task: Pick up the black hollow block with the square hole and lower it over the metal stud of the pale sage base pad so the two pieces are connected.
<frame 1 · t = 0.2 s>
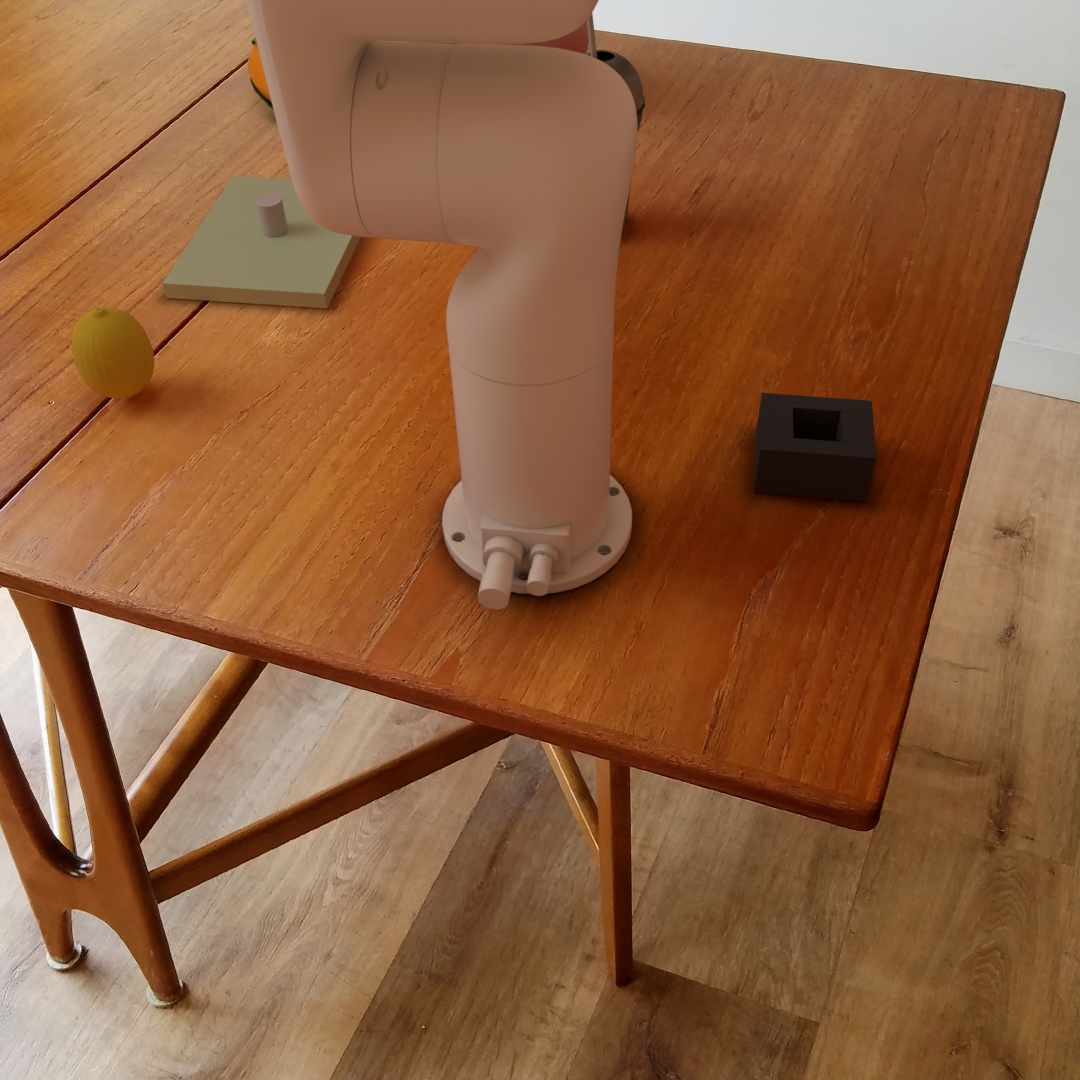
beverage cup: (599, 229, 103), on the table
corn: (311, 120, 119), on the table
base pad: (278, 245, 102), on the table
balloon: (498, 111, 120), on the table
black hollow block: (808, 468, 81), on the table
lemon: (129, 399, 88), on the table
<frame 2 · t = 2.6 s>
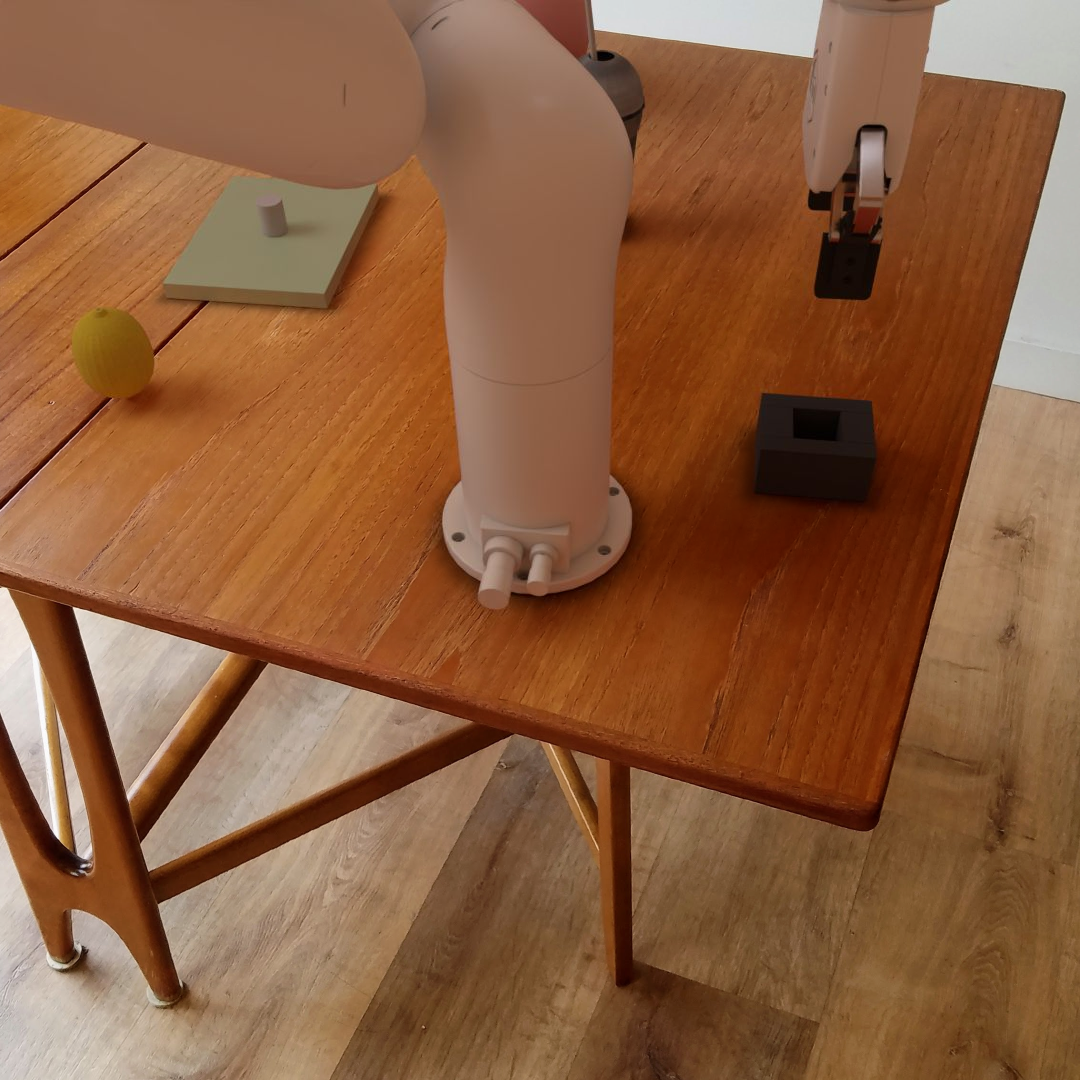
hand: (836, 250, 70), 16 cm above the table, tool pointing down, fingers open, 9 cm apart
nothing on the table moved.
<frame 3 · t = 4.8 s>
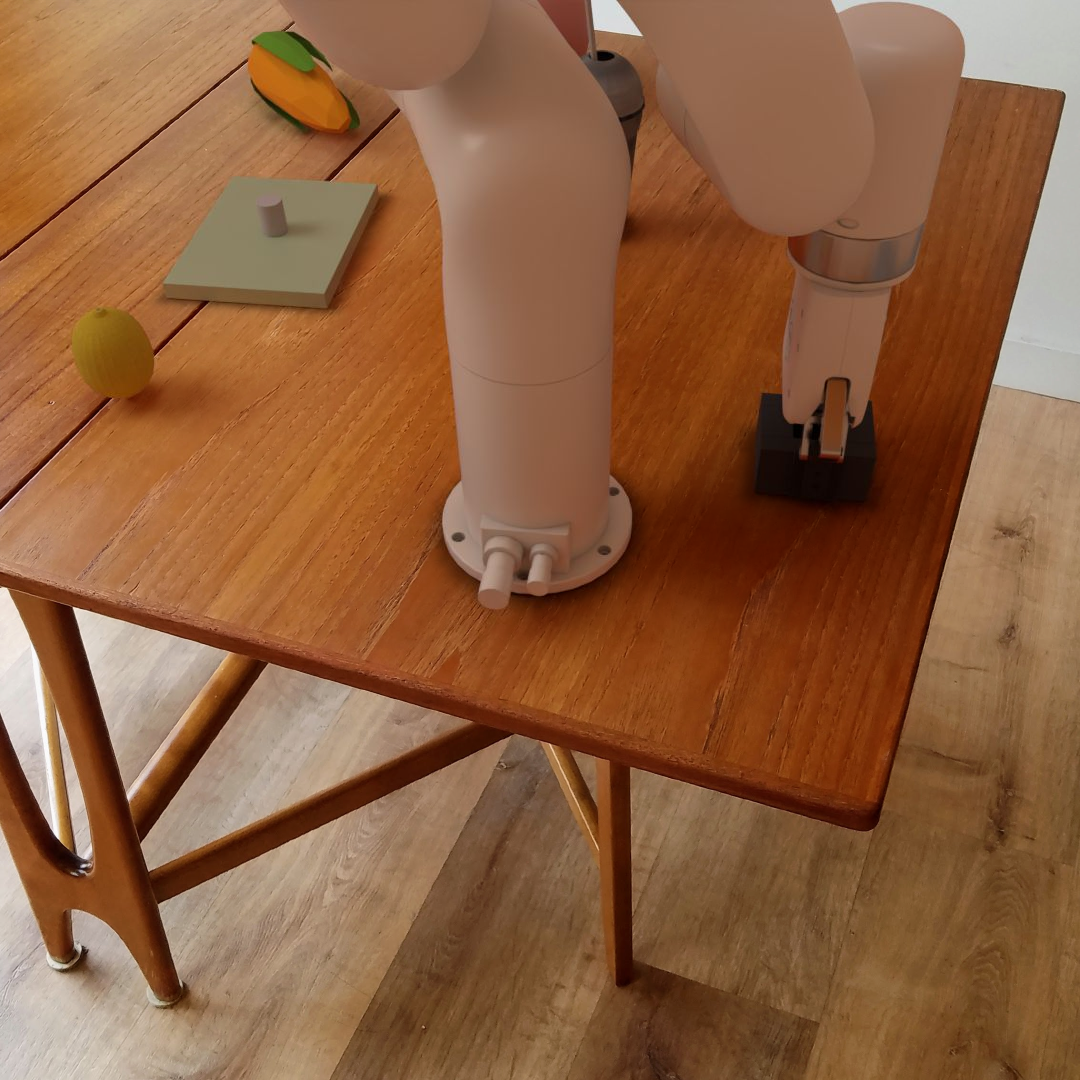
hand: (810, 461, 80), 1 cm above the table, tool pointing down, fingers closed on black hollow block, 6 cm apart
black hollow block: (808, 467, 81), on the table, touching gripper
everything else where it was.
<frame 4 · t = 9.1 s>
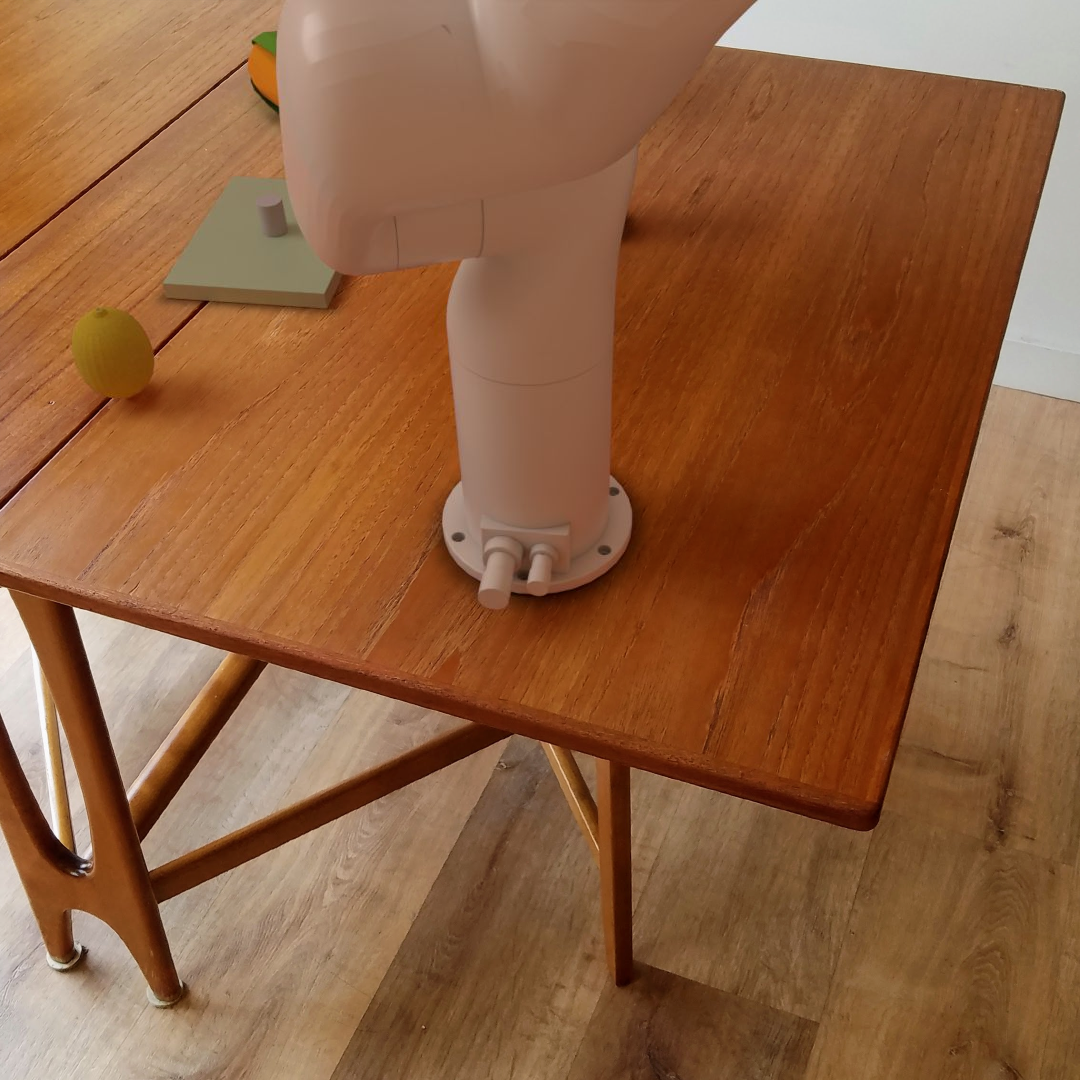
hand: (431, 127, 83), 16 cm above the table, tool pointing down, fingers closed on black hollow block, 6 cm apart
black hollow block: (433, 134, 83), point 15 cm above the table, touching gripper
everything else where it was.
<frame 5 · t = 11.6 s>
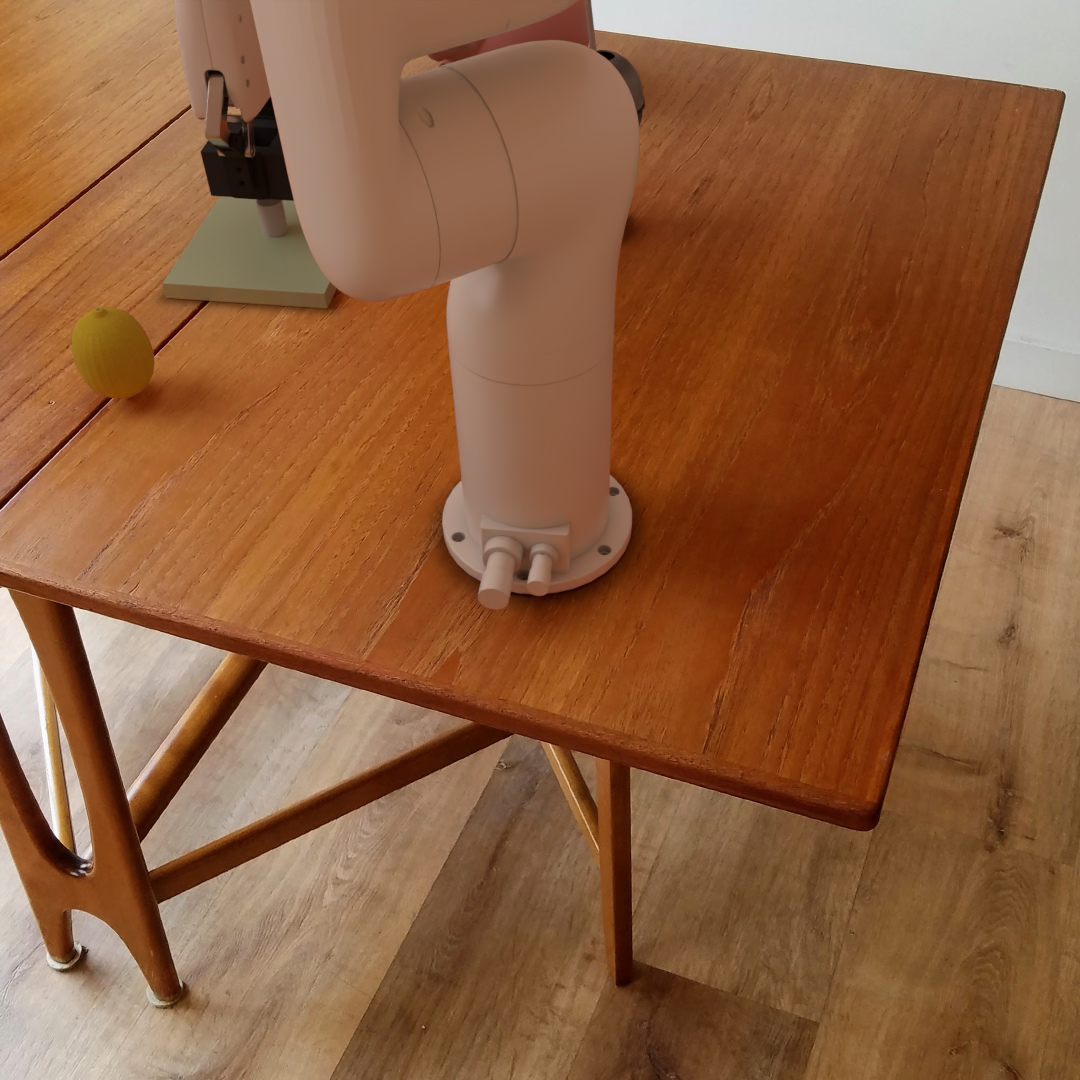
hand: (262, 174, 98), 7 cm above the table, tool pointing down, fingers closed on black hollow block, 6 cm apart
black hollow block: (265, 180, 98), point 6 cm above the table, touching gripper
everything else where it was.
when the fingers open (2 cm above the table, at t = 13.4 s): black hollow block stays where it is, resting on base pad.
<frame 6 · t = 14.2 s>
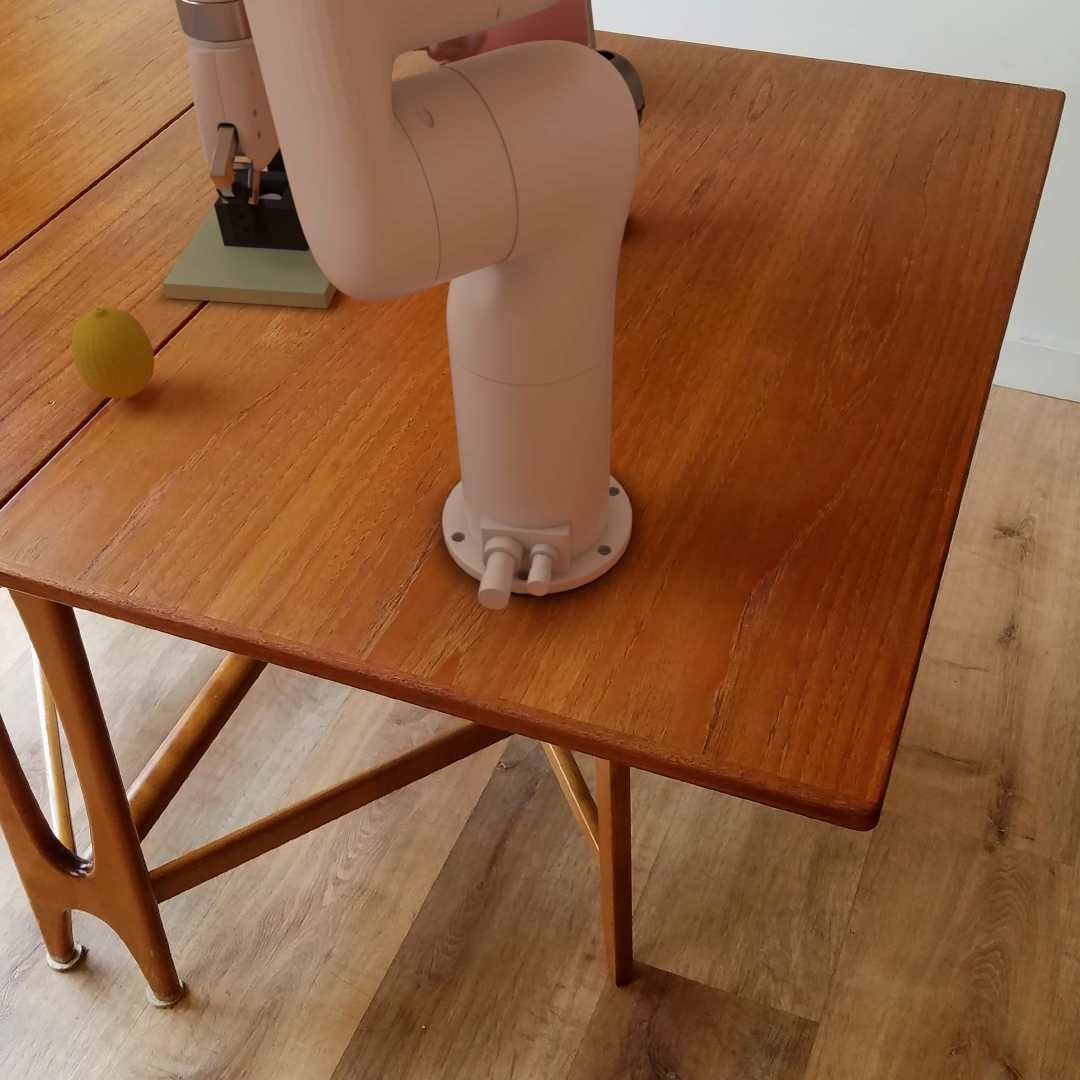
hand: (272, 212, 100), 3 cm above the table, tool pointing down, fingers open, 9 cm apart
black hollow block: (276, 230, 101), point 1 cm above the table, touching base pad
everything else where it was.
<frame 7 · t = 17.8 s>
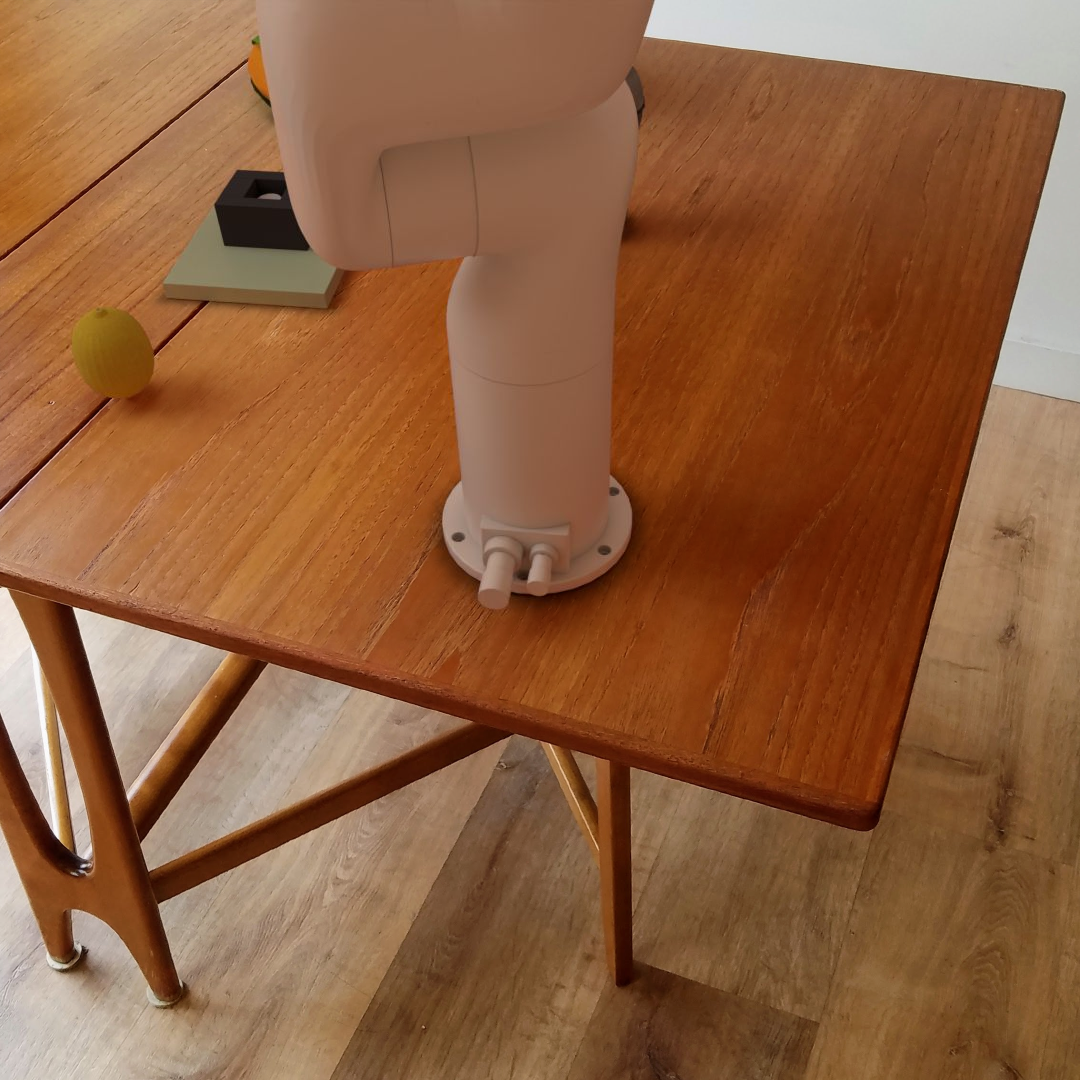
nothing on the table moved.
at the end: black hollow block 0.1 cm off-centre on the base pad, point 1.5 cm above the base pad's base; black hollow block tilted 0°; the gripper is holding nothing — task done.
